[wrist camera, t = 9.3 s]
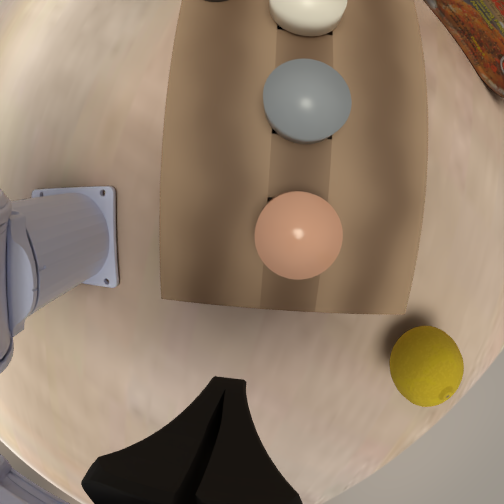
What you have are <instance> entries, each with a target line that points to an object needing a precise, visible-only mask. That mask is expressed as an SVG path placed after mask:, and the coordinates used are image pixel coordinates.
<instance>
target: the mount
mask: <svg viewBox="0 0 504 504" xmlns="http://www.w3.org/2000/svg"><path fill="white" fill-rule="evenodd" d="M277 26H278V24H277V23H276V22H275V21H274V19H273V18H272V16H271V14H270V4H269V0H182V3H181V8H180V13H179V18H178V23H177V28H176V34H175V40H174V46H173V52H172V59H171V66H170V73H169V81H168V89H167V98H166V107H165V117H164V129H163V142H162V158H161V179H160V279H161V299H168V300H176V301H185V302H194V303H203V304H213V305H223V306H234V307H246V308H258V309H272V310H287V311H303V312H323V313H349V314H405V311H406V307H407V302H408V298H409V294H410V289H411V285H412V280H413V275H414V270H415V265H416V260H417V254H418V248H419V242H420V235H421V228H422V220H423V212H424V203H425V192H426V179H427V161H428V105H427V87H426V75H425V65H424V56H423V49H422V42H421V35H420V29H419V24H418V18H417V13H416V9H415V4H414V0H347V6H346V8H345V10H344V13H343V15H342V17H341V19H340V22H339V24H338V25H337V27H336V28H335V29H334V30H332V31H331V32H329V33H327V34H324V35H320V36H302V35H297V34H294V33H291V32H289V31H287V30H278V29H277ZM295 59H312V60H317V61H320V62H323V63H325V64H327V65H329V66H330V67H332V68H333V69H335V70H336V71H337V72H338V73H339V74H340V75H341V76H342V77H343V79H344V80H345V82H346V83H347V85H348V87H349V90H350V94H351V101H352V104H351V111H350V114H349V117H348V119H347V121H346V122H345V124H344V125H343V126H342V127H341V128H340V129H339V130H338V131H336V132H335V133H334V134H333V135H331V136H330V137H328V138H327V139H325V140H323V141H321V142H318V143H314V144H298V143H294V142H291V141H289V140H286V139H285V138H283V137H281V136H280V135H279V134H272V127H271V126H270V124H269V123H268V120H267V118H266V115H265V111H264V103H263V90H264V85H265V82H266V80H267V78H268V77H269V75H270V74H271V73H272V71H273V70H274V69H276V68H277V67H278V66H280V65H281V64H283V63H285V62H287V61H291V60H295ZM288 191H304V192H308V193H311V194H314V195H317V196H319V197H321V198H322V199H324V200H325V201H327V202H328V203H329V204H330V205H331V206H332V207H333V208H334V210H335V211H336V213H337V214H338V216H339V218H340V221H341V224H342V229H343V241H342V246H341V249H340V252H339V254H338V256H337V258H336V260H335V261H334V262H333V264H332V265H331V266H330V267H329V268H328V269H327V270H325V271H324V272H322V273H321V274H319V275H317V276H314V277H312V278H308V279H302V280H295V279H288V278H284V277H282V276H279V275H278V274H276V273H274V272H273V271H271V270H270V269H269V268H268V267H267V266H266V265H265V264H264V263H263V261H262V260H261V258H260V257H259V255H258V252H257V249H256V246H255V236H254V234H255V227H256V223H257V220H258V217H259V215H260V213H261V211H262V209H263V208H264V206H265V205H266V204H267V203H268V197H273V198H274V197H275V196H277V195H279V194H281V193H284V192H288Z"/></svg>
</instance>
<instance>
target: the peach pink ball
mask: <svg viewBox="0 0 504 504" xmlns="http://www.w3.org/2000/svg"><path fill="white" fill-rule="evenodd" d="M254 236H255V246H256V249H257V252H258V255H259V257H260V258H261V260H262V261H263V263H264V264H265V265H266V266H267V267H268V268H269V269H270V270H271V271H273V272H274V273H276V274H278V275H279V276H282V277H284V278H288V279H295V280H302V279H308V278H312V277H314V276H317V275H319V274H321V273H322V272H324V271H325V270H327V269H328V268H329V267H330V266H331V265H332V264H333V262H334V261H335V260H336V258H337V256H338V254H339V252H340V249H341V246H342V241H343V229H342V224H341V221H340V218H339V216H338V214H337V213H336V211H335V210H334V208H333V207H332V206H331V205H330V204H329V203H328V202H327V201H325V200H324V199H322V198H321V197H319V196H317V195H314V194H311V193H308V192H304V191H288V192H284V193H281V194H279V195H277V196H275V197H274V198H272V199H271V200H270V201H269V202H268V203H267V204H266V205H265V206H264V208H263V209H262V211H261V213H260V215H259V217H258V220H257V223H256V227H255V234H254Z"/></svg>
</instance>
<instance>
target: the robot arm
mask: <svg viewBox="0 0 504 504" xmlns="http://www.w3.org/2000/svg"><path fill="white" fill-rule="evenodd" d="M103 190H105V195H103ZM106 278H107V279H108V280H109V283H108V282H107V280H106ZM81 283H84V284H90V285H96V286H103V287H110V288H115V287H116V286H118V284H119V277H118V264H117V246H116V192H115V189H114V187H112V186H95V187H69V188H50V189H36V190H33V192H32V198H29V199H23V200H17V201H10V199H9V198H8V197H7V196H6V195H5V194H4V192H3V191H2V190H1V189H0V373H1V372H3V371H4V370H5V368H6V367H7V366H8V364H9V363H10V361H11V359H12V356H13V350H14V344H13V338H12V337H14V336H15V335H17V334H18V333H19V332H21V331H22V330H24V323H25V320H26V318H27V317H28V316H30V315H31V314H33V313H34V312H36V311H37V310H39V309H40V308H42V307H44V306H45V305H47V304H48V303H50V302H51V301H53V300H55V299H56V298H58V297H59V296H61V295H63V294H64V293H66V292H67V291H69V290H71V289H72V288H74V287H76V286H77V285H79V284H81ZM81 485H82V487H83V489H84V491H85V492H86V493H87V495H88V496H89V497H90V499H91V500H92V501H93V502H94V504H303V503H302V501H301V499H300V496H299V494H298V493H297V492H296V491H295V490H294V489H293V488H292V487H291V485H290V484H289V483H288V482H287V481H286V480H285V478H284V477H283V476H282V474H281V473H280V472H279V471H278V469H277V468H276V466H275V465H274V463H273V462H272V460H271V458H270V457H269V455H268V454H267V452H266V450H265V448H264V446H263V444H262V442H261V440H260V438H259V436H258V434H257V431H256V429H255V426H254V423H253V421H252V417H251V414H250V410H249V407H248V402H247V397H246V381H245V380H241V379H232V378H224V377H216V376H215V377H213V378H212V379H211V381H210V382H209V383H208V385H207V386H206V387H205V389H204V390H203V391H202V392H201V393H200V395H199V396H198V397H197V398H196V399H195V400H194V401H193V402H192V403H191V404H190V405H189V406H188V407H187V408H186V409H185V410H184V411H183V412H182V413H181V414H179V415H178V416H177V417H176V418H175V419H174V420H172V421H171V422H170V423H169V424H167V425H166V426H164V427H163V428H162V429H160V430H159V431H157V432H155V433H154V434H152V435H151V436H149V437H147V438H145V439H144V440H142V441H140V442H138V443H136V444H133V445H131V446H129V447H127V448H125V449H122V450H119V451H116V452H113V453H110V454H107V455H104V456H100V457H98V458H97V459H96V461H95V462H94V463H93V464H92V465H91V467H90V468H89V470H88V472H87V473H86V475H85V477H84V478H83V480H82V482H81ZM0 504H70V503H68V502H66V501H64V500H62V499H60V498H58V497H57V496H55V495H53V494H52V493H50V492H48V491H46V490H45V489H43V488H42V487H40V486H38V485H37V484H35V483H34V482H32V481H31V480H29V479H27V478H26V477H25V476H23V475H21V474H20V473H18V472H17V471H16V470H14V469H13V468H12V467H11V465H10V464H9V462H8V461H7V460H6V459H5V458H4V457H3V456H2V455H1V454H0Z"/></svg>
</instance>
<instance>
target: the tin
mask: <svg viewBox="0 0 504 504" xmlns="http://www.w3.org/2000/svg"><path fill="white" fill-rule="evenodd" d="M424 1H425V3H426V4H427V5H428V6H429V8H430V9H431V10H432V11H433V12H434V13H435V15H436V16H437V17H438V18H439V19H440V21H441V22H442V23H443V24H444V26H445V27H446V28H447V29H448V31H449V32H450V33H451V35H452V36H453V37H454V39H455V40H456V41H457V43H458V44H459V46H460V47H461V49H462V50H463V51H464V53H465V54H466V56H467V57H468V59H469V60H470V62H471V64H472V65H473V67H474V68H475V70H476V72H477V73H478V74H479V76H480V77H481V79H482V80H483V81H484V82H485V83H486V84H487V85H488V86H489V87H490V88H491V89H492V90H493V91H494V92H495V93H497V94H498V95H500V96H501V97H503V98H504V0H424Z"/></svg>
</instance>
